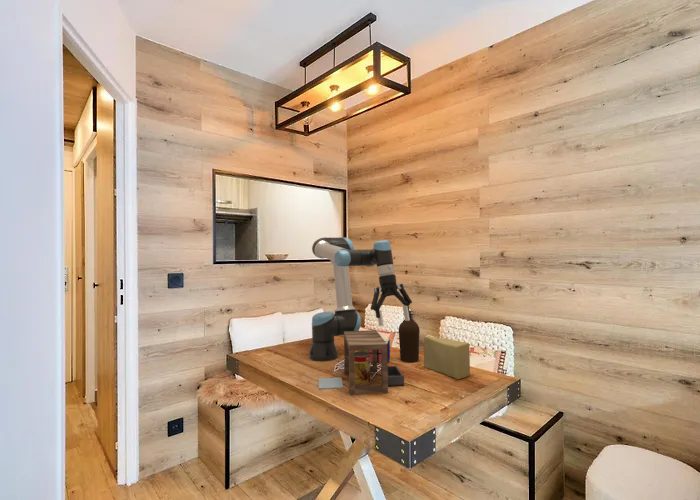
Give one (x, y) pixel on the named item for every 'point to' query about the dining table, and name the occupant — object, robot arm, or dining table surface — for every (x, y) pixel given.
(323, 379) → the mat
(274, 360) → the dining table surface
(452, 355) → the cheese
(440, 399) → the dining table surface
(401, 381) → the tray
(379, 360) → the puzzle cube
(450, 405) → the dining table surface
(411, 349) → the olive oil
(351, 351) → the tunnel
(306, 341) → the dining table surface
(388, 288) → the robot arm
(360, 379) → the canned food
